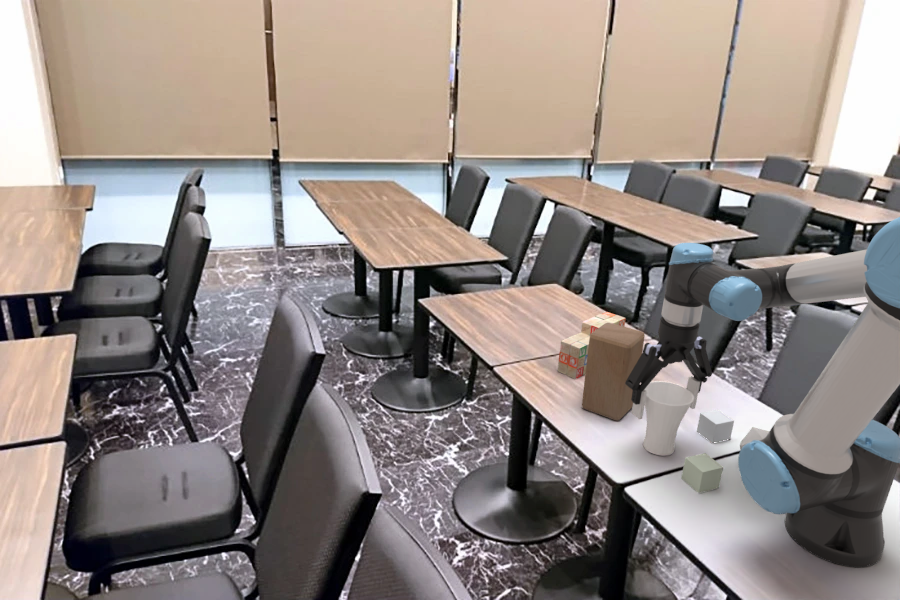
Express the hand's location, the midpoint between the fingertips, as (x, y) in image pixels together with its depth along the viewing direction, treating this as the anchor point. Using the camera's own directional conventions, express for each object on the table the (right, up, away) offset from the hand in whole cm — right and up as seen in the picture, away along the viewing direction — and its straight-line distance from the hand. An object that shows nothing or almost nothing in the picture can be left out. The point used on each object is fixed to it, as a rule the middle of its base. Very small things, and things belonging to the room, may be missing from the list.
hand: (663, 410), depth 135 cm
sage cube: (+4, -13, -8) cm, 16 cm away
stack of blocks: (-7, +6, +40) cm, 41 cm away
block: (-7, -3, +18) cm, 20 cm away
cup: (0, -9, +3) cm, 9 cm away
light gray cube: (+14, -7, +8) cm, 18 cm away
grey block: (+19, -11, -2) cm, 22 cm away
